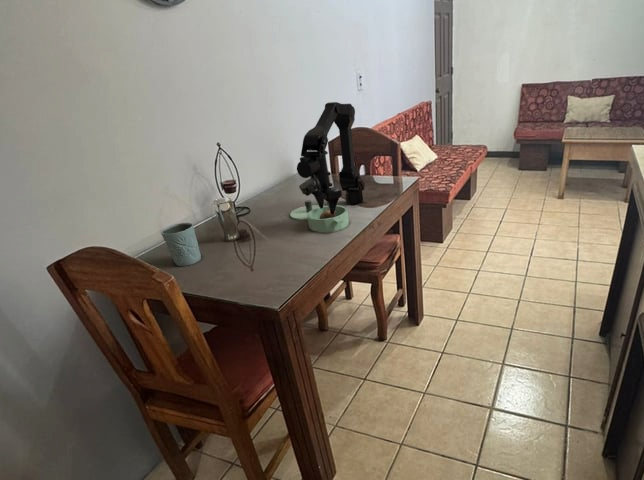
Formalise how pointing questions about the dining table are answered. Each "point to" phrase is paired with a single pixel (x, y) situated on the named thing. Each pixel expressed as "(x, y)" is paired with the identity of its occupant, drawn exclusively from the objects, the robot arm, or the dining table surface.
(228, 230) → the beer glass
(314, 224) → the pot
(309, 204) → the lid
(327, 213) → the mushroom
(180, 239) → the embossed blue planter
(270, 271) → the dining table surface
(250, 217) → the dining table surface
